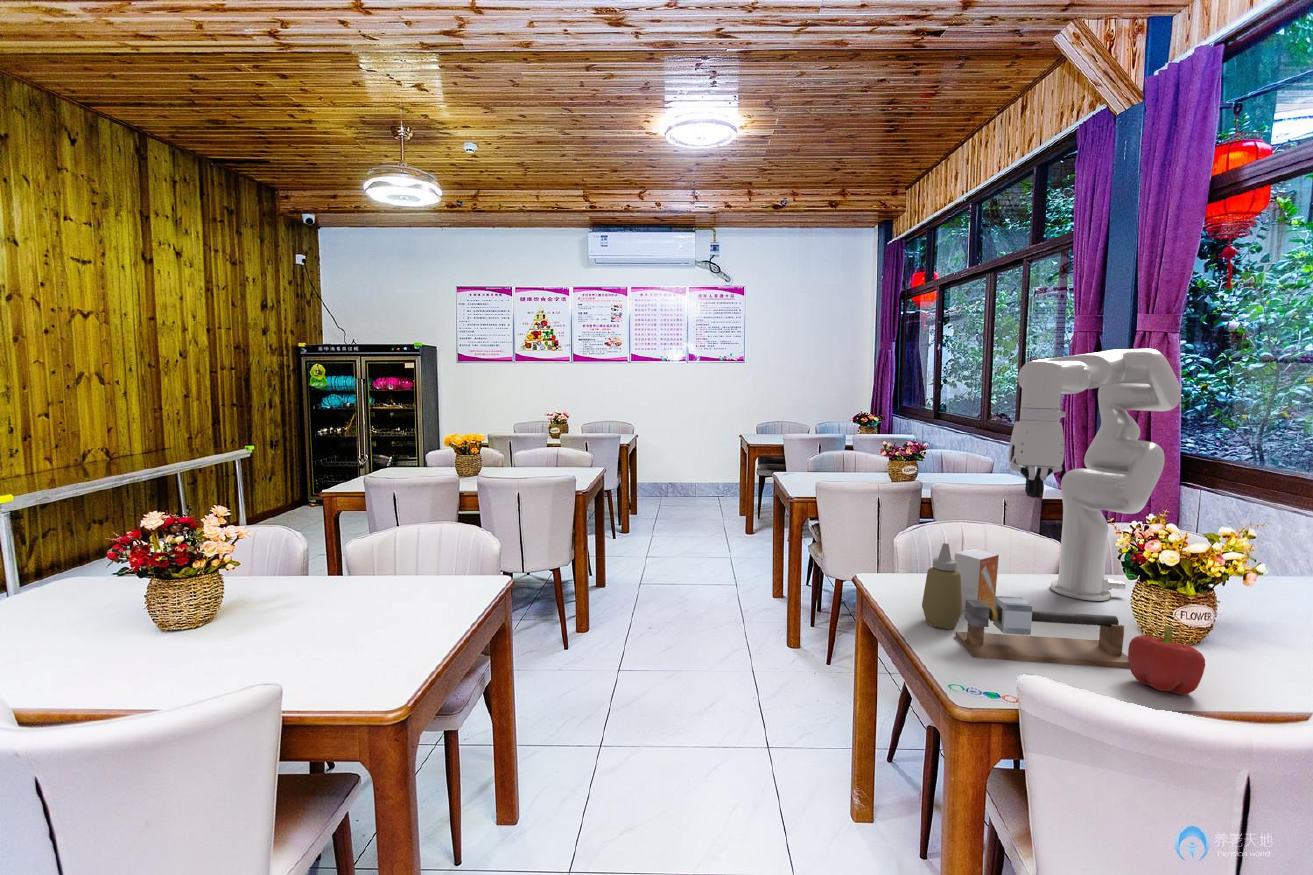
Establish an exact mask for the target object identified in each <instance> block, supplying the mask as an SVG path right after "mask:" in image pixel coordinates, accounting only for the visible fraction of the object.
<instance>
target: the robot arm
mask: <svg viewBox="0 0 1313 875" xmlns="http://www.w3.org/2000/svg"><path fill="white" fill-rule="evenodd" d="M1017 379H1018V380H1017V381H1018V384H1019V386H1020V388H1021V398H1020V400H1021V401H1020V409H1019V410H1020V411H1019V412H1020V413H1019V421H1015V423H1014V424H1013V428H1012V433H1011V436H1010V437H1011V438H1010V442H1009V449H1008V455H1007V456H1008V461H1009V467H1008V468H1009V469H1010V470H1011V471H1016V472H1019V473H1020V474H1021V475H1022V476H1023V477H1024V479H1025V488H1024V489H1025V493H1026V496H1027V497H1029V498H1037V499H1041V496H1042V495H1041V494H1043V490H1044V489H1043V488H1044V481H1046V480H1047V478H1048V477H1049V476H1050V475H1051V474H1054V473H1059V472H1062V471H1063V464H1064V460H1065V436H1064V428H1063V425H1062V424H1063V423H1062V422H1060V421H1061V419H1062V418H1066V416H1067V415H1066V414H1067V412H1066V411H1062V410H1061V400H1062V395H1076V394H1079V393H1082V392H1084V391H1085V390H1089V389H1090V390H1091V389H1092V390H1093V389H1097V388H1098V391H1097V400H1098V401H1097V402H1098V408H1099V414H1100V415H1099V416H1100V426H1099V429H1098V430H1097V432H1096V434H1095V437H1094V438H1093V440H1092V441H1091V443H1090V444H1089V447H1088V448H1087V450H1086V452H1085V455H1084V458H1083V462H1084V466H1085V467H1086V468H1083V467H1082V468H1074V469H1071V470H1069V471H1067V472H1066V473H1064V475H1063V476H1062V479H1061V482H1060V492H1061V499H1062V528H1061V529H1062V530H1061V540H1060V551H1059V554H1060V555H1059V566H1058V576H1057V577H1058V578H1057V579H1058V580H1054V581H1052V582H1050V589H1051V590H1052V591H1053V592H1055V593H1056V594H1059V595H1062V596H1065V597H1069V598H1072V599H1077V600H1084V601H1090V602H1103V601H1108V600H1110V599H1111V595H1112V593H1111V592H1110V591H1111V590H1112V589H1116V590H1125V589H1126V585H1127V584H1126V583H1125V581H1123V580H1122V581H1121V580H1117V581H1116V580H1115V581H1114V580H1113V579H1111V578H1107V577H1105V574H1106V564H1107V562H1106V561H1107V551H1108V541H1109V540H1108V539H1109V524H1108V522H1107V519H1106V518H1105V516H1104V514H1103V513H1102V511H1109V512H1114V513H1118V514H1119V513H1120V514H1128V515H1134V514H1135V515H1136V514H1138V513H1139V512H1141V511H1142V510H1143V509H1144V507H1145V506H1146V505H1147V503H1148V501H1149V498H1150V497H1151V494H1152V492H1153V491H1154V489H1155V488H1156V485H1157V483H1158V482H1159V480H1160V477H1161V475H1162V473H1163V470H1164V467H1165V459H1166V458H1165V452H1164V449H1163V448H1162V447H1161V446H1160V445H1158V444H1157V443H1156V442H1152V441H1146V440H1139V438H1140V436H1141V428H1140V426H1139V425H1138V423H1137V422H1136V421H1135V419H1134V418H1133V417H1132V416H1131V415H1130V414H1129V413H1128V411H1143V412H1144V411H1146V412H1168V411H1171V410H1173V409H1174V410H1175V408H1176V407H1178V405H1179V403H1180V401H1181V398H1182V388H1181V385H1180V382H1179V380H1178V378H1177V376H1176V374H1175V372H1174V370H1173V368H1172V366H1171V364H1170V362H1169V361H1168V360H1167V358H1166V357H1165V355H1163V353H1161V352H1160V351H1158V350H1157V349H1154V348H1134V349H1133V348H1130V349H1129V348H1128V349H1125V348H1124V349H1108V350H1103V351H1098V352H1091V353H1090V352H1089V353H1082V354H1075V355H1073V354H1072V355H1069V356H1068V355H1067V356H1061V357H1051V358H1041V359H1037V360H1036V359H1035V360H1030V361H1028V362H1026V363H1024V365H1022V367H1021V368H1020V370H1019V372H1018V378H1017ZM1109 590H1110V591H1109Z"/></svg>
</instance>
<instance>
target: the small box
mask: <svg viewBox="0 0 1313 875" xmlns="http://www.w3.org/2000/svg"><path fill="white" fill-rule="evenodd" d="M999 556H1000V555H999V554H997V553H993V552H990V551H985V550H981V549H977V548H971V549H967V550H962V551H958V552H955V553H954V560H955V561H956V562H957V565H956V570H957V571H958V572H959V573H960V574H961V591H962V611H965V605H966V599H967V600H982V601H983V602H984V603H985V604H986V605H987V606H988V607H994V603H995V596H997V594H996V592H997V581H998V580H997V579H998V568H999Z"/></svg>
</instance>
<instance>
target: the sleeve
mask: <svg viewBox="0 0 1313 875" xmlns="http://www.w3.org/2000/svg"><path fill="white" fill-rule="evenodd" d="M994 607H995V608H996V609H1003V610H1002V620H997V621H996V622H995V621H992V624H993V625H994V626H995V627H996V628H997V630H999V631H1000V633H1001V634H1007V635H1023V636H1032V635H1031V632H1032V622H1031V621H1032V611H1033V605H1032V604H1030V603H1029V602H1028V601H1027V600H1025V599H1024V598H1022V597H1021V596H1019V597H1017V596H1015V597H1014V596H1004V595H1003V596H999V595H996V596H995V603H994Z"/></svg>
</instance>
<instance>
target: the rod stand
mask: <svg viewBox="0 0 1313 875" xmlns="http://www.w3.org/2000/svg"><path fill="white" fill-rule="evenodd" d="M1002 610H1003V609H996V608H995V607H988V606H987V605H986V604H985V603H984V602H983V601H982V600H967V599H966V605H965V610H964V619H965V621H966V622H967V631H958V630H957V631H955V638H957V639H958V641H959V642H960V643H961V644H962V645H963V647H964V648H965V649H966V650H967V651H968V652H969V654H970V655H971V656H972V657H973V658H978V659H979V658H980V659H994V660H1009V661H1021V662H1022V661H1024V662H1026V661H1027V662H1037V663H1038V662H1039V663H1053V664H1066V665H1071V664H1072V665H1081V666H1082V665H1084V666H1085V665H1086V666H1098V667H1099V666H1100V667H1114V668H1127V669H1130V667H1129V662H1128V654H1126V653H1124V652H1123V647H1124V636H1125V625H1123V624H1120V623H1119V618H1118V617H1117V616H1116V615H1106V614H1105V615H1104V614H1103V615H1102V614H1087V613H1071V612H1070V613H1069V612H1057V611H1056V612H1052V611H1036V610H1034V611H1033V610H1032V621H1031V623H1049V624H1050V623H1052V624H1068V625H1083V626H1084V625H1086V626H1099V634H1098V639H1089V638H1088V639H1083V638H1072V637H1071V638H1070V637H1069V638H1067V637H1056V636H1055V637H1053V636H1040V635H1039V636H1038V635H1021V634H1004V633H988V632H985V628H989V621H990V622H993V621H995V622H996V621H997V620H1002Z"/></svg>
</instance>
